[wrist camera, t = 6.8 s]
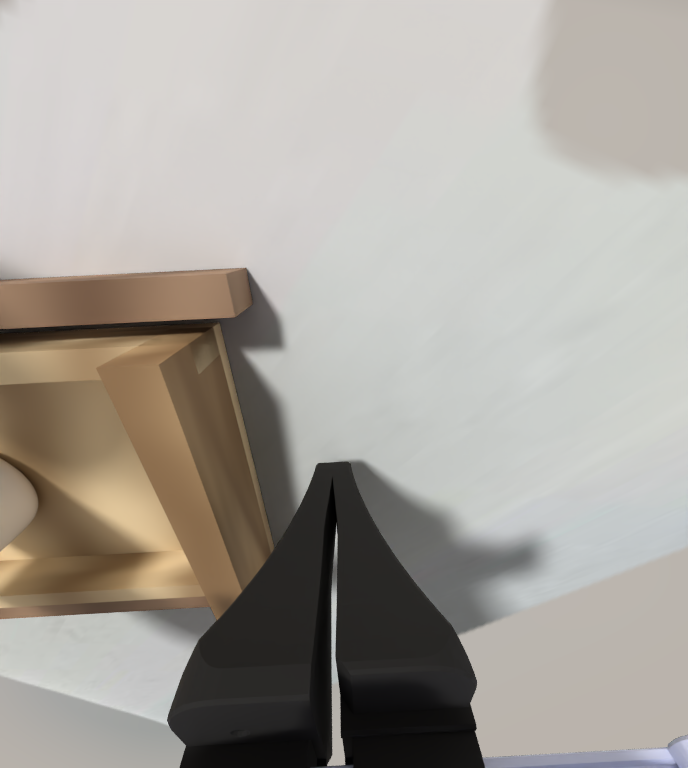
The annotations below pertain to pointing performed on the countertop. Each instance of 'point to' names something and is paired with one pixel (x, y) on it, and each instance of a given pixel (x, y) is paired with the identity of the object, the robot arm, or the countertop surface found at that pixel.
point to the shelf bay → (120, 305)
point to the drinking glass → (15, 503)
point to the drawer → (129, 468)
